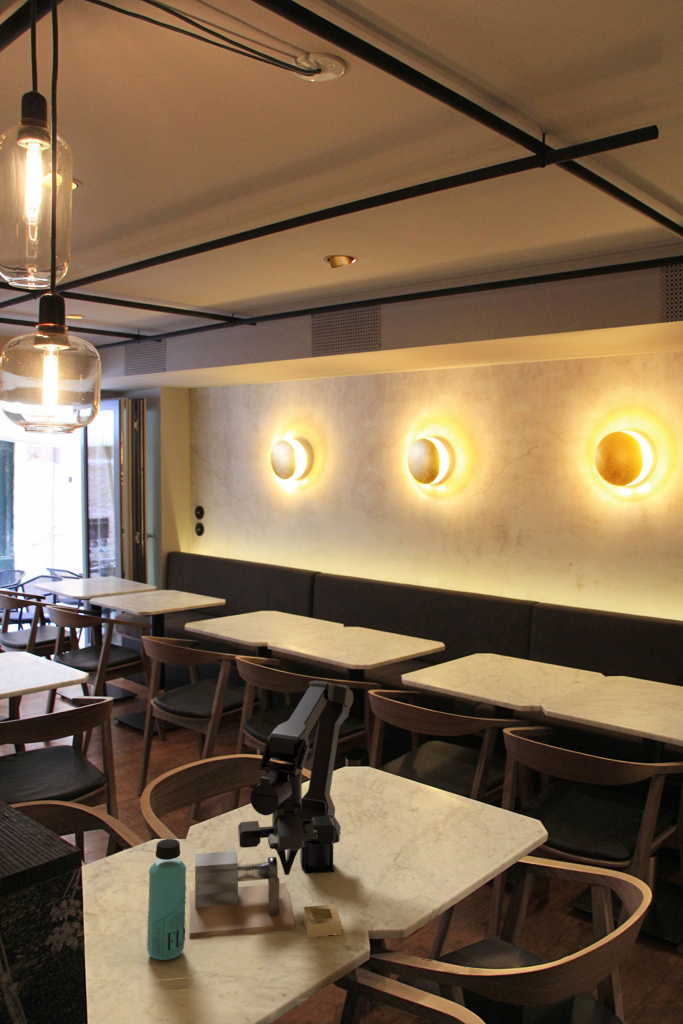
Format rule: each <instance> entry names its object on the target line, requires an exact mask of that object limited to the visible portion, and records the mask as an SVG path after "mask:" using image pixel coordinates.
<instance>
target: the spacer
mask: <svg viewBox="0 0 683 1024" xmlns="http://www.w3.org/2000/svg"><path fill="white" fill-rule="evenodd" d="M303 923H304V927H305V931H306V935H307V938H308V937H312V938H318V937H317V936H326V937H328V936H327V935H335V934H336V936H339V935H338V934H341V935H342V921H341V917H340V914H339V912H338V908H337V905H336V904H322V905H314V906H313V905H312V906H311V905H310V906H304V907H303Z"/></svg>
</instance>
